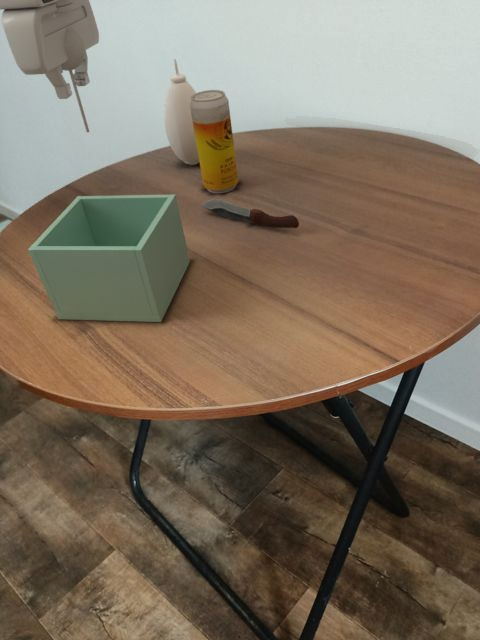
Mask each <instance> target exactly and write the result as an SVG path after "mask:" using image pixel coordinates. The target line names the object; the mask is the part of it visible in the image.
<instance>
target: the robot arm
mask: <svg viewBox="0 0 480 640" xmlns="http://www.w3.org/2000/svg"><path fill="white" fill-rule="evenodd" d="M0 10H3V11H2V13H1V23H2V28H3V30H4V34H5V36H6V40H7V43H8V46H9V48H10V52H11V54H12V56H13V59H14V61H15V63H16V66H17V67H18V68H19V69H20V71H21V72H22V73H23V74H24V75H27V76H31V75H34V76H36V75H45V77H46V78H47V80H48V81H49V82H50V83H51V85H52V86H53V89H54V90H55V94H56V97H57V98H58V99H59V100H67V99H69V98H70V97H71V96H72V95H73V91H72V87H71V84H70V83H69V82H68V83H67V81H66V80H65V78H64V76H63V73H64V70H62V67H61V64H63V63H65V62H66V61H68V55H67V52H66V49H65V40H64V37H65V31H66V29H67V28H72V29H74V30H75V31H76V32H77V33H78V34H79V36H80V37H81V38H82V40H83V42H84V45H85V56H84V60H83V62H82V63H81V65H80V66H79V67H77V68H76V69H74V72H73V76H74V79H75V83H76V86H77V87H85V86H87V85H89V84H90V77H89V73H88V67H89V66H88V61H89V59H88V54H87V51H88V50H90V48H92V47H94V46H96V45H97V44H99V41H100V32H99V28H98V24H97V20H96V18H95V15H94V12H93V8H92V5H91V1H90V0H0Z"/></svg>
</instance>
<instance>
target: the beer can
mask: <svg viewBox="0 0 480 640" xmlns="http://www.w3.org/2000/svg"><path fill="white" fill-rule="evenodd" d="M190 109H191V115H192V121H193V127H194V133H195V138H196V144H197V150H198V156H199V162H198V163H199V167H200V172H201V179H202V185H203V187H204V188H205V189H206V190H207V191H208V192H209V193H212V194H224V193H228V192H231V191H233V190H234V189H235V188H236V186H237V184H238V183H239V175H238V168H237V167H238V166H237V160H236V159H237V158H236V152H235V151H236V150H235V143H234V135H233V127H232V126H233V125H232V119H231V112H230V111H231V110H230V103H229V99H228V97H227V96H226V92H225V91H223V90H220V89H208V90H207V89H206V90H202V91H198V92H196V93H195V94H193V95H192V96H191V102H190Z"/></svg>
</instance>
